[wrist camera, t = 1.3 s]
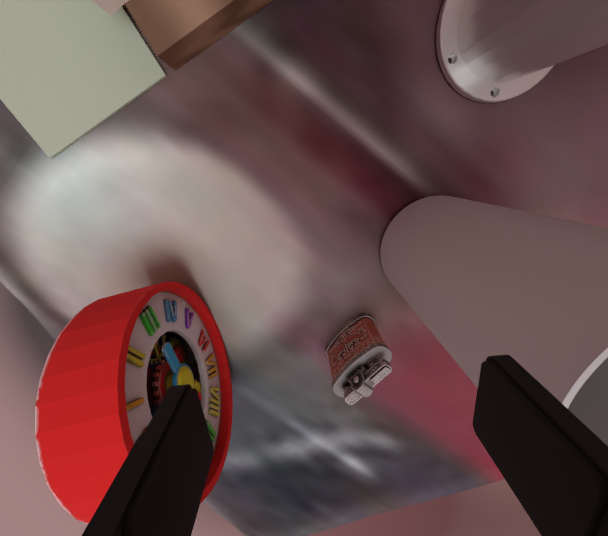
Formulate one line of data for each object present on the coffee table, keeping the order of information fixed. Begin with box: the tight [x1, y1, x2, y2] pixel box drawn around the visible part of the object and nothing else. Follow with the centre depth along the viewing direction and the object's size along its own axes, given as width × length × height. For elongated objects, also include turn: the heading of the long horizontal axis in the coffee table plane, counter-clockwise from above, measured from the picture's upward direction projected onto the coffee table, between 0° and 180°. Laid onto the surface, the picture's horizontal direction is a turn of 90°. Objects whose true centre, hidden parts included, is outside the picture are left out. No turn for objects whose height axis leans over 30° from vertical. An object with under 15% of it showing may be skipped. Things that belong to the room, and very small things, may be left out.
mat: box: [0, 0, 167, 158], centre depth 27 cm, size 15×15×1 cm
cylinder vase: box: [380, 195, 608, 446], centre depth 23 cm, size 12×12×25 cm
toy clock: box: [35, 281, 233, 524], centre depth 29 cm, size 20×6×20 cm, turn 15°
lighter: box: [326, 313, 392, 405], centre depth 34 cm, size 8×3×10 cm, turn 138°
